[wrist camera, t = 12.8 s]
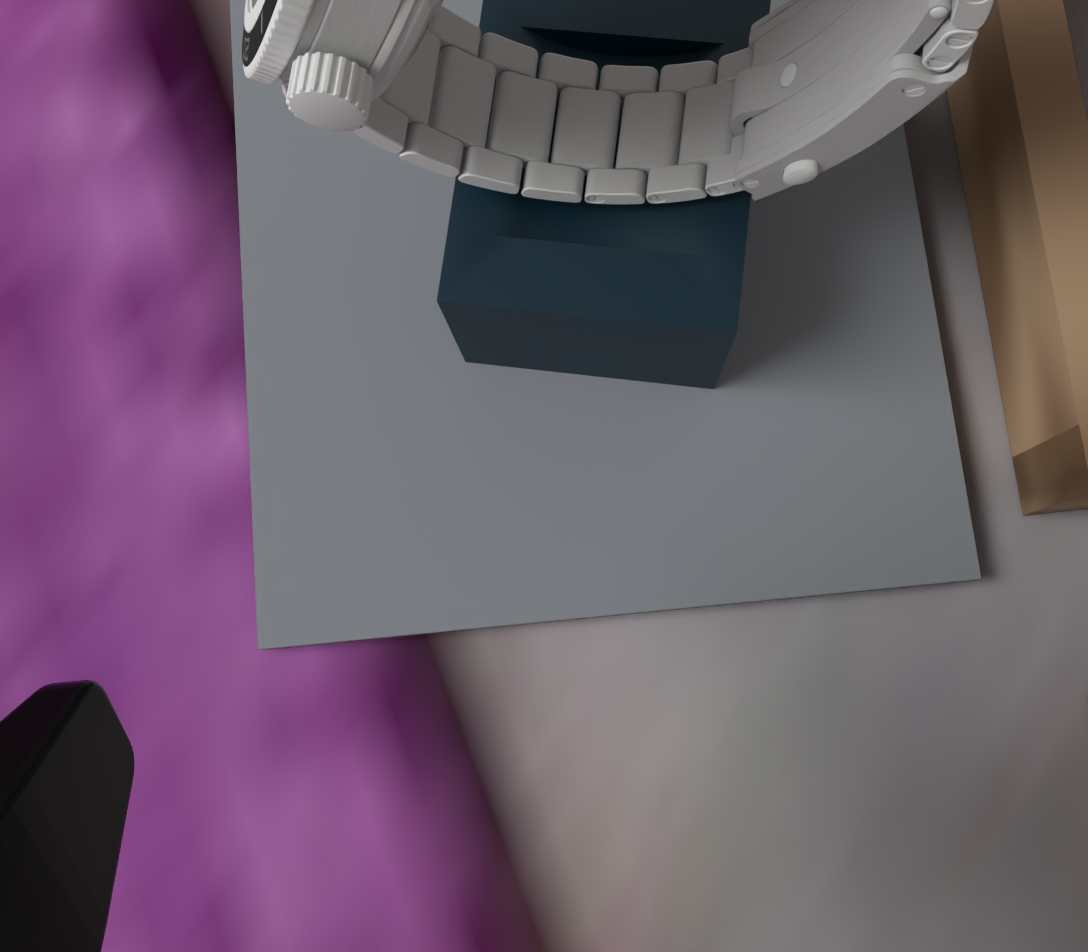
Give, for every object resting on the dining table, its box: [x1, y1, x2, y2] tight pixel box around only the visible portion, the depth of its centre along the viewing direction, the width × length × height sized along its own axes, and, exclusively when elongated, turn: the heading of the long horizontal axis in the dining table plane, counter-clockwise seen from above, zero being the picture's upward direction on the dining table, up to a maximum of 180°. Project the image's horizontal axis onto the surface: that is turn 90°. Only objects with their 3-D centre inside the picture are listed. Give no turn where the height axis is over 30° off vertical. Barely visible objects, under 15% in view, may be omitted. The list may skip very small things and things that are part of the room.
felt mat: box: [230, 0, 981, 650], centre depth 18 cm, size 14×12×1 cm
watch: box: [242, 0, 994, 389], centre depth 13 cm, size 6×8×11 cm
